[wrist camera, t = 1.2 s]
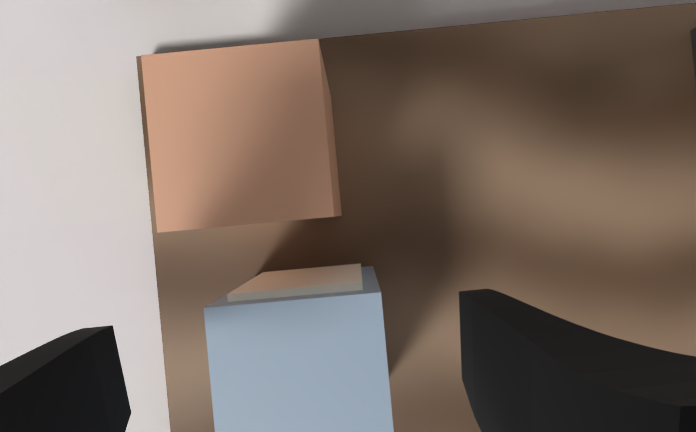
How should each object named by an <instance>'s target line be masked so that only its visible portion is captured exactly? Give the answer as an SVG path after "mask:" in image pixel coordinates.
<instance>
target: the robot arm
mask: <svg viewBox="0 0 696 432" xmlns="http://www.w3.org/2000/svg"><path fill="white" fill-rule="evenodd" d="M459 312H460V341H461V369H462V381H463V384H464V387H465V390H466V393H467V396H468V399H469V402H470V405H471V408H472V411H473V414H474V417H475V419H476V421H477V423H478V426H479V428H480V430H481V432H696V357H695V356H689V355H684V354H679V353H674V352H669V351H665V350H660V349H656V348H652V347H648V346H644V345H641V344H637V343H633V342H630V341H626V340H622V339H619V338H615V337H612V336H609V335H606V334H603V333H600V332H597V331H594V330H591V329H588V328H586V327H583V326H580V325H577V324H575V323H572V322H569V321H567V320H564V319H562V318H559V317H557V316H555V315H552V314H550V313H547V312H545V311H543V310H540V309H538V308H536V307H533V306H531V305H529V304H527V303H524V302H522V301H520V300H518V299H515V298H513V297H511V296H508V295H506V294H503V293H501V292H498V291H495V290H492V289H478V290H468V291H459ZM130 415H131V410H130V405H129V401H128V396H127V391H126V386H125V382H124V377H123V372H122V368H121V363H120V358H119V354H118V349H117V344H116V339H115V335H114V330H113V326H104V327H94V328H83V329H80V330H76V331H73V332H71V333H68V334H66V335H63V336H61V337H59V338H56V339H54V340H52V341H50V342H48V343H46V344H44V345H42V346H40V347H38V348H36V349H33V350H31V351H29V352H27V353H25V354H23V355H21V356H19V357H17V358H15V359H13V360H11V361H9V362H7V363H5V364H3V365H1V366H0V432H125V430H126V427H127V424H128V421H129V418H130Z"/></svg>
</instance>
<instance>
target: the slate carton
mask: <svg viewBox="0 0 696 432" xmlns="http://www.w3.org/2000/svg"><path fill="white" fill-rule="evenodd" d="M204 318H205V329H206V340H207V351H208V362H209V373H210V384H211V395H212V406H213V417H214V428H215V432H394V429H393V418H392V407H391V396H390V385H389V374H388V363H387V352H386V341H385V330H384V319H383V308H382V297H381V290H380V287H379V284H378V281H377V278H376V274H375V271H374V268H373V266H367V267H361V263H360V264H349V265H337V266H326V267H315V268H304V269H293V270H281V271H270V272H263V273H261V274H259V275H258V276H255V277H253V278H252V279H250V280H248V281H247V282H245V283H244V284H242V285H240V286H239V287H237V288H235V289H234V290H232V291H230V292H229V293H227V294H226V295H224V296H222V297H221V298H219V299H217V300H216V301H214V302H213V303H211V304H209V305H208V306H206V307H204Z"/></svg>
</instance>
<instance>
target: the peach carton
mask: <svg viewBox="0 0 696 432" xmlns="http://www.w3.org/2000/svg"><path fill="white" fill-rule="evenodd" d="M141 61H142V72H143V83H144V94H145V105H146V116H147V127H148V138H149V149H150V160H151V171H152V182H153V192H154V203H155V214H156V225H157V233H160V232H171V231H182V230H193V229H204V228H215V227H226V226H237V225H248V224H259V223H270V222H281V221H292V220H303V219H314V218H325V217H336V216H342V212H341V201H340V190H339V179H338V168H337V157H336V146H335V135H334V124H333V113H332V102H331V95H330V90H329V86H328V81H327V77H326V72H325V67H324V63H323V58H322V54H321V49H320V45H319V40H318V38H317V39H306V40H296V41H286V42H275V43H265V44H254V45H244V46H234V47H223V48H213V49H202V50H192V51H181V52H171V53H161V54H150V55H141Z"/></svg>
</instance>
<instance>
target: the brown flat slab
mask: <svg viewBox="0 0 696 432" xmlns="http://www.w3.org/2000/svg"><path fill="white" fill-rule="evenodd" d="M318 40H319V45H320V49H321V54H322V58H323V63H324V67H325V72H326V77H327V81H328V86H329V90H330V95H331V102H332V113H333V124H334V135H335V146H336V157H337V168H338V179H339V190H340V201H341V212H342V216H336V217H325V218H314V219H303V220H292V221H281V222H270V223H259V224H248V225H237V226H226V227H215V228H204V229H193V230H182V231H171V232H160V233H157V225H156V214H155V203H154V192H153V182H152V171H151V160H150V149H149V138H148V127H147V116H146V105H145V94H144V83H143V72H142V61H141V56H137V57H136V58H137V69H138V80H139V91H140V102H141V113H142V124H143V134H144V145H145V156H146V167H147V178H148V189H149V200H150V211H151V222H152V233H153V244H154V255H155V266H156V277H157V287H158V298H159V309H160V320H161V331H162V342H163V353H164V364H165V375H166V386H167V397H168V408H169V419H170V430H171V432H215V428H214V417H213V406H212V395H211V384H210V373H209V362H208V351H207V340H206V329H205V318H204V307H206V306H208V305H209V304H211V303H213V302H214V301H216V300H217V299H219V298H221V297H222V296H224V295H226V294H227V293H229V292H230V291H232V290H234V289H235V288H237V287H239V286H240V285H242V284H244V283H245V282H247V281H248V280H250V279H252V278H253V277H255V276H258V275H259V274H261V273H263V272H270V271H281V270H293V269H304V268H315V267H326V266H337V265H349V264H360V263H361V267H367V266H373V268H374V271H375V274H376V278H377V281H378V284H379V287H380V290H381V297H382V308H383V319H384V330H385V341H386V352H387V363H388V374H389V385H390V396H391V407H392V418H393V429H394V432H481V430H480V428H479V426H478V423H477V421H476V419H475V417H474V414H473V411H472V408H471V405H470V402H469V399H468V396H467V393H466V390H465V387H464V384H463V381H462V369H461V341H460V312H459V291H468V290H478V289H492V290H495V291H498V292H501V293H503V294H506V295H508V296H511V297H513V298H515V299H518V300H520V301H522V302H524V303H527V304H529V305H531V306H533V307H536V308H538V309H540V310H543V311H545V312H547V313H550V314H552V315H555V316H557V317H559V318H562V319H564V320H567V321H569V322H572V323H575V324H577V325H580V326H583V327H586V328H588V329H591V330H594V331H597V332H600V333H603V334H606V335H609V336H612V337H615V338H619V339H622V340H626V341H630V342H633V343H637V344H641V345H644V346H648V347H652V348H656V349H660V350H665V351H669V352H674V353H679V354H684V355H689V356H695V357H696V3H689V4H678V5H668V6H657V7H647V8H637V9H626V10H616V11H605V12H595V13H584V14H574V15H564V16H553V17H543V18H532V19H522V20H512V21H501V22H491V23H480V24H470V25H460V26H449V27H439V28H428V29H418V30H407V31H397V32H387V33H376V34H366V35H355V36H345V37H335V38H324V39H318Z"/></svg>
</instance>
